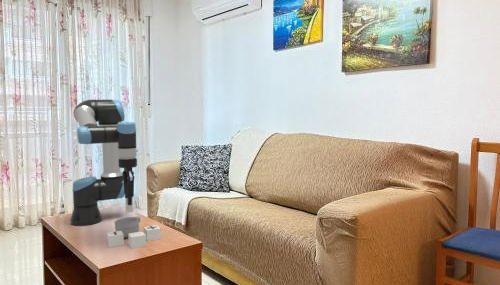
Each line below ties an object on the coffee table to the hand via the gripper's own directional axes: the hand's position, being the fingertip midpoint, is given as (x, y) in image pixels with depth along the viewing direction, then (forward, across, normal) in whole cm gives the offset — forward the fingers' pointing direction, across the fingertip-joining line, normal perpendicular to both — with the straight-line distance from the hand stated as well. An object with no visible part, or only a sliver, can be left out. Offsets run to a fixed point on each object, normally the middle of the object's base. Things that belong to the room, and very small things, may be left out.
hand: (129, 211), depth 161 cm
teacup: (+15, +13, -2) cm, 20 cm away
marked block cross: (+15, +2, -10) cm, 18 cm away
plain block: (+14, -3, -2) cm, 15 cm away
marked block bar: (+15, +3, +6) cm, 16 cm away
